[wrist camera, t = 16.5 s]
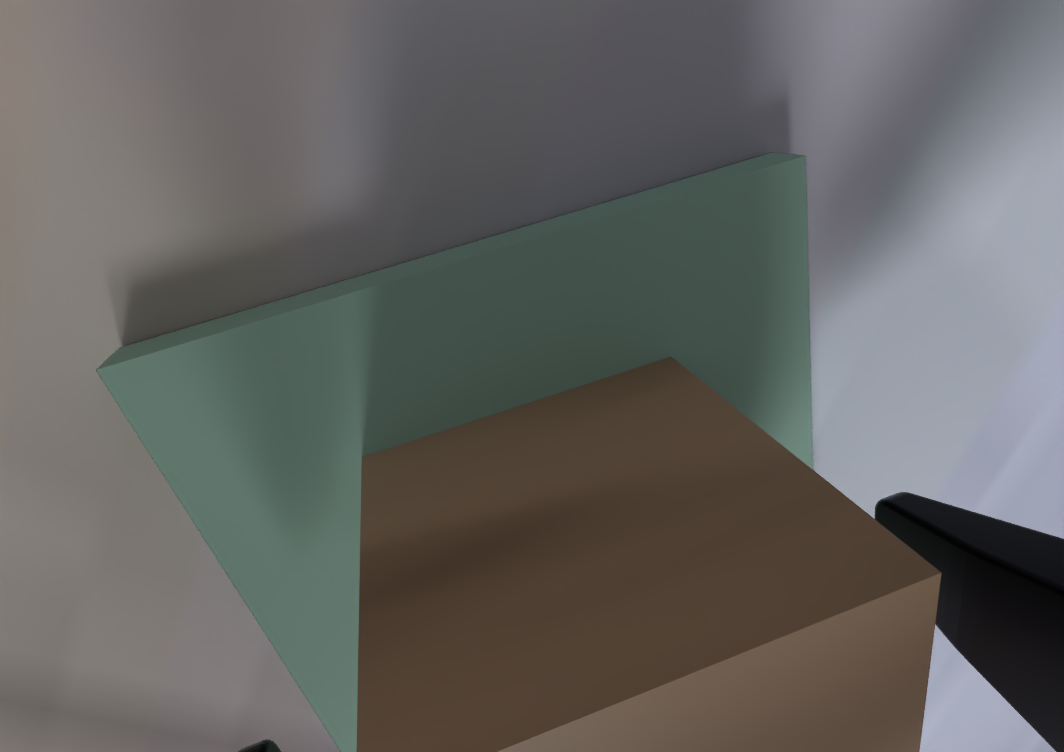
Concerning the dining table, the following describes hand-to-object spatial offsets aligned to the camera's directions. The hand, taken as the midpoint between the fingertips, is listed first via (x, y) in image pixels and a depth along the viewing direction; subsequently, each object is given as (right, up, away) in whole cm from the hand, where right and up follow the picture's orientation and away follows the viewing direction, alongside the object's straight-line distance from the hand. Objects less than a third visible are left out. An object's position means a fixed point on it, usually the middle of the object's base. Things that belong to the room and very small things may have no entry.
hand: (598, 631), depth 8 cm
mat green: (-1, +1, +3) cm, 3 cm away
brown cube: (-1, +1, +2) cm, 2 cm away
